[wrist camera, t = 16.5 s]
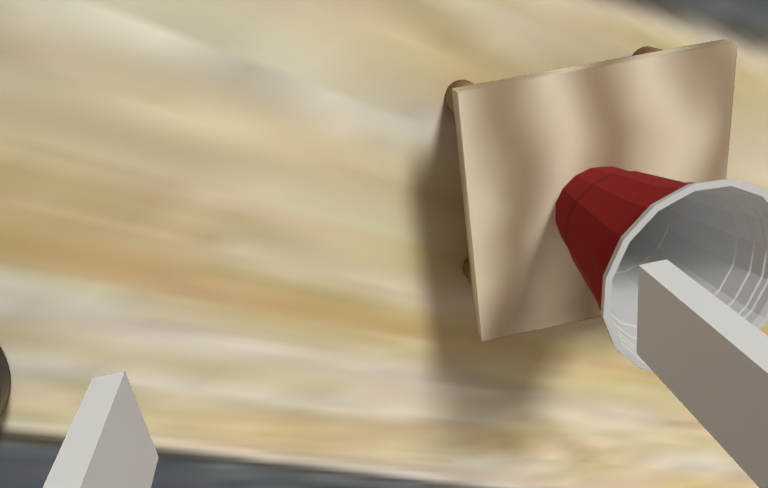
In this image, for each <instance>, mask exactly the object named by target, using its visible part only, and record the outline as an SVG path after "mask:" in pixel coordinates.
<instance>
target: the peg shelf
mask: <svg viewBox="0 0 768 488" xmlns="http://www.w3.org/2000/svg"><path fill="white" fill-rule="evenodd" d="M737 45H738V42H734V41H728V40H717V41H712V42H706V43H701V44H695V45H690V46H684V47H679V48H673V49H668V50H662V49H657V48H653V47H642V48H640V49H638V50H637V51H636V52H635V53H634V54H633V55H632V56H629V57H623V58H618V59H612V60H607V61H601V62H596V63H590V64H584V65H579V66H573V67H568V68H562V69H557V70H551V71H546V72H540V73H535V74H529V75H523V76H518V77H512V78H507V79H501V80H496V81H490V82H485V83H479V84H473V83H471V82H469V81H467V80H457V81H455V82H453V83H452V84H451V85H450V86H449V87H448V89H447V91H446V94H445V102H446V104H447V106H448V108H449V109H450V110H451V111H453V112H454V115H455V125H456V135H457V145H458V155H459V165H460V174H461V184H462V194H463V204H464V214H465V224H466V234H467V244H468V254H469V258H467V260H466V261H465V263H464V265H463V271H464V274H465V276H466V277H467V279H468V281H469V282H470V284H471V286H472V293H473V303H474V313H475V323H476V331H477V333H478V335H479V337H480V339H481V340H482V341H487V340H491V339H496V338H501V337H506V336H510V335H515V334H520V333H524V332H529V331H534V330H539V329H543V328H548V327H553V326H558V325H562V324H567V323H572V322H576V321H581V320H586V319H591V318H595V317H600V316H602V315H601V311H600V309H599V306H598V304H597V301H596V299H595V297H594V296H593V294H592V292H591V291H590V289H589V287H588V285H587V284H586V282H585V280H584V279H583V277H582V275H581V273H580V272H579V270H578V268H577V267H576V265H575V263H574V261H573V260H572V258H571V255H570V252H569V250H568V248H567V246H566V244H565V243H564V241H563V239H562V237H561V235H560V232H559V230H558V227H557V225H556V220H555V212H556V202H557V200H558V198H559V196H560V194H561V191H562V189H563V188H564V187H565V186H566V185H567V184H568V183H569V182H570V180H571V179H572V178H573V177H574V176H576V175H578V174H580V173H582V172H583V171H585V170H587V169H589V168H595V167H605V166H607V167H609V166H613V167H617V168H620V169H624V170H627V171H638V172H642V173H646V174H651V175H655V176H659V177H664V178H668V179H672V180H677V181H681V182H685V183H687V182H693V183H699V182H707V181H714V180H721V179H726V175H727V163H728V151H729V140H730V128H731V116H732V104H733V93H734V81H735V69H736V57H737Z"/></svg>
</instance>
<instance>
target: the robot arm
mask: <svg viewBox="0 0 768 488" xmlns="http://www.w3.org/2000/svg"><path fill="white" fill-rule="evenodd" d="M637 354H638V356H639V357H640V358H641V359H642V360H643V361H644V362H645V363H646V364H647V365H648V366H649V368H650V369H651V370H652V371H653V372H654V373H655V374H656V375H657V376H658V377H659V378H660V380H661V381H662V382H663V383H664V384H665V385H666V386H667V387H668V388H669V389H670V390H671V392H672V393H673V394H674V395H675V396H676V397H677V398H678V399H679V400H680V401H681V403H682V404H683V405H684V406H685V407H686V408H687V409H688V410H689V411H690V412H691V413H692V415H693V416H694V417H695V418H696V419H697V420H698V421H699V422H700V423H701V424H702V425H703V427H704V428H705V429H706V430H707V431H708V432H709V433H710V434H711V435H712V436H713V437H714V439H715V440H716V441H717V442H718V443H719V444H720V445H721V446H722V447H723V448H724V449H725V451H726V452H727V453H728V454H729V455H730V456H731V457H732V458H733V459H734V460H735V461H736V463H737V464H738V465H739V466H740V467H741V468H742V469H743V470H744V471H745V472H746V473H747V475H748V476H749V477H750V478H751V479H752V480H753V481H754V482H755V483H756V484H757V486H758V487H759V488H768V336H767V335H765V334H764V333H763V332H762V331H760V330H759V329H758V328H756V327H755V326H754V325H752V324H751V323H750V322H748V321H747V320H746V319H744V318H743V317H742V316H741V315H739V314H738V313H737V312H735V311H734V310H733V309H731V308H730V307H729V306H727V305H726V304H725V303H723V302H722V301H721V300H720V299H718V298H717V297H716V296H714V295H713V294H712V293H710V292H709V291H708V290H706V289H705V288H704V287H702V286H701V285H700V284H699V283H697V282H696V281H695V280H693V279H692V278H691V277H689V276H688V275H687V274H685V273H684V272H683V271H682V270H680V269H679V268H678V267H676V266H675V265H674V264H672V263H671V262H670V261H668V260H667V259H666V260H661V261H656V262H651V263H646V264H642V265H639V273H638V313H637ZM9 391H10V373H9V368H8V364H7V361H6V358H5V356H4V353H3V351H2V349H1V348H0V414H1V413H2V411H3V409H4V407H5V405H6V403H7V400H8V396H9ZM157 461H158V455H157V452H156V450H155V447H154V444H153V442H152V439H151V437H150V434H149V432H148V429H147V426H146V424H145V421H144V419H143V416H142V414H141V411H140V408H139V406H138V403H137V401H136V398H135V396H134V393H133V390H132V388H131V385H130V383H129V380H128V378H127V375H126V372H125V371H123V372H118V373H113V374H108V375H103V376H99V377H94V378H93V379H92V381H91V383H90V385H89V387H88V390H87V392H86V394H85V396H84V398H83V401H82V403H81V405H80V407H79V409H78V412H77V414H76V416H75V418H74V420H73V423H72V425H71V427H70V429H69V431H68V433H67V436H66V438H65V440H64V442H63V444H62V447H61V449H60V451H59V453H58V455H57V458H56V460H55V462H54V464H53V466H52V469H51V471H50V473H49V475H48V477H47V480H46V482H45V484H44V486H43V488H151V485H152V481H153V477H154V473H155V469H156V465H157Z"/></svg>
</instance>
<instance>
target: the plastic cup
mask: <svg viewBox="0 0 768 488" xmlns="http://www.w3.org/2000/svg"><path fill="white" fill-rule="evenodd" d="M555 220H556V225H557V227H558V230H559V232H560V235H561V237H562V239H563V241H564V243H565V244H566V246H567V248H568V250H569V252H570V255H571V258H572V260H573V261H574V263H575V265H576V267H577V268H578V270H579V272H580V273H581V275H582V277H583V279H584V280H585V282H586V284H587V285H588V287H589V289H590V291H591V292H592V294H593V296H594V297H595V299H596V301H597V304H598V306H599V309H600V311H601V315H602V317H603V320H604V322H605V325H606V328H607V330H608V333H609V335H610V338H611V340H612V343H613V345H614V347H615V349H617V350H618V351H619V352H620V353H621V354H623V355H624V356H625V357H626V358H627V359H629V360H630V361H631V362H632V363H633V364H635V365H636V366H637V367H638V368H640V369H645V370H649V371H652V370H651V369H650V368H649V366H648V365H647V364H646V363H645V362H644V361H643V360H642V359H641V358H640V357H639V356H638V354H637V313H638V273H639V265H642V264H646V263H651V262H656V261H661V260H666V259H667V260H668V261H670V262H671V263H672V264H674V265H675V266H676V267H678V268H679V269H680V270H682V271H683V272H684V273H685V274H687V275H688V276H689V277H691V278H692V279H693V280H695V281H696V282H697V283H699V284H700V285H701V286H702V287H704V288H705V289H706V290H708V291H709V292H710V293H712V294H713V295H714V296H716V297H717V298H718V299H720V300H721V301H722V302H723V303H725V304H726V305H727V306H729V307H730V308H731V309H733V310H734V311H735V312H737V313H738V314H739V315H741V316H742V317H743V318H744V319H746V320H747V321H748V322H750V323H751V324H752V325H754V326H755V327H756V328H758V329H759V330H760V329H761V328H762V327H763V326H764V325H765V324H766V323H767V322H768V191H767V190H766V189H763V188H760V187H757V186H754V185H751V184H748V183H745V182H742V181H739V180H736V179H721V180H714V181H707V182H699V183H693V182H687V183H685V182H681V181H677V180H672V179H668V178H664V177H659V176H655V175H651V174H646V173H642V172H638V171H627V170H624V169H620V168H617V167H613V166H609V167H607V166H605V167H595V168H589V169H587V170H585V171H583V172H582V173H580V174H578V175H576V176H574V177H573V178H572V179H571V180H570V182H569V183H568V184H567V185H566V186H565V187H564V188H563V189H562V191H561V194H560V196H559V198H558V200H557V202H556V212H555Z"/></svg>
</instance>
